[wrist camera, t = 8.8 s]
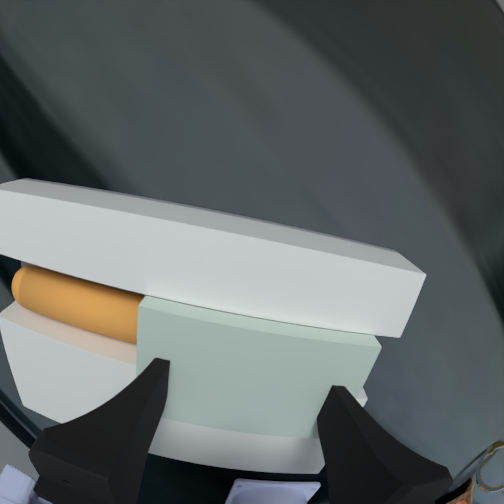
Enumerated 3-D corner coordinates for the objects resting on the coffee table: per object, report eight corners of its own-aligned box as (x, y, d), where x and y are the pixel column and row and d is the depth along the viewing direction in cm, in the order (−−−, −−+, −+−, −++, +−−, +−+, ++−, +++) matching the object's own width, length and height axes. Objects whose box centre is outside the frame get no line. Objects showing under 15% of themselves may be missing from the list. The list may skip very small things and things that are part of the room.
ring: (510, 426, 23) (537, 466, 15) (508, 436, 23) (533, 474, 16) (466, 458, 24) (489, 503, 16) (467, 466, 25) (488, 508, 17)
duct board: (311, 437, 20) (318, 473, 16) (44, 377, 18) (23, 405, 15) (394, 250, 15) (426, 274, 12) (26, 178, 14) (-14, 187, 10)
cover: (330, 425, 14) (333, 438, 13) (141, 398, 14) (136, 411, 13) (373, 335, 13) (381, 347, 12) (145, 295, 12) (138, 305, 11)
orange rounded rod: (215, 323, 13) (219, 304, 16) (3, 266, 12) (28, 257, 15) (206, 370, 14) (211, 346, 16) (4, 308, 13) (28, 296, 15)
